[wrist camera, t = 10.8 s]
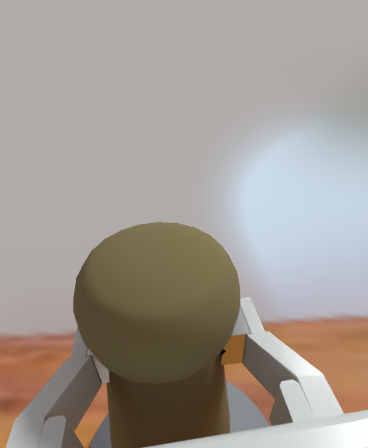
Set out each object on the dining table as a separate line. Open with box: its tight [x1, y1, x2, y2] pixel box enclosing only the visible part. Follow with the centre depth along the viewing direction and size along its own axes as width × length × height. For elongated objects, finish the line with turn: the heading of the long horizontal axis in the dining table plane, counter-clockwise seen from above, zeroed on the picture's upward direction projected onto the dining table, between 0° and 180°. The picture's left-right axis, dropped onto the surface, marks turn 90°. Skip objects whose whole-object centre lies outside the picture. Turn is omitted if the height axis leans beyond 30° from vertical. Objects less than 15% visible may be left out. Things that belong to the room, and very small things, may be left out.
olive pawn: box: [73, 222, 241, 448], centre depth 11 cm, size 6×6×11 cm
